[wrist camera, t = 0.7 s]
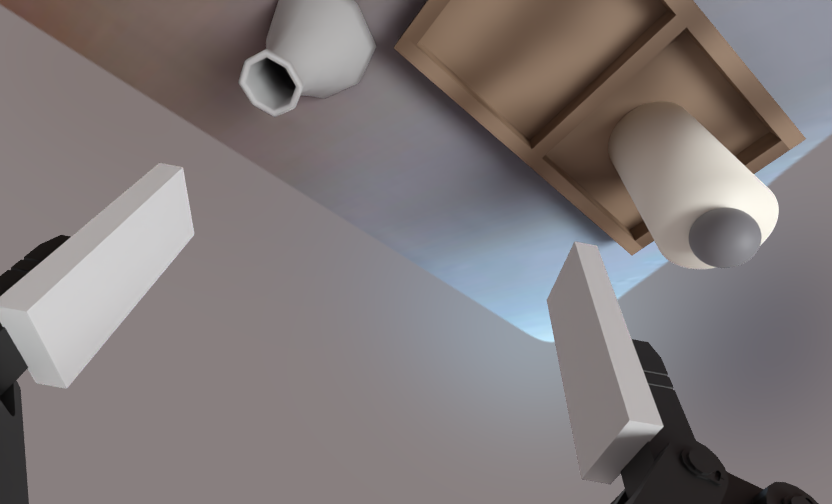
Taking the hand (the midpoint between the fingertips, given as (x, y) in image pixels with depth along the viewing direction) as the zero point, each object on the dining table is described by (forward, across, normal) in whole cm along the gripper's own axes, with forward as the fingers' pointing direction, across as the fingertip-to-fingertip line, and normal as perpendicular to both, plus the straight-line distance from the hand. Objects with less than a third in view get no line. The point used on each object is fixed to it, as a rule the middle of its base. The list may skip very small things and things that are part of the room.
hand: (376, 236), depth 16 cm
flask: (+21, -7, 0) cm, 22 cm away
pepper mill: (+19, +17, -2) cm, 25 cm away
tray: (+20, +12, +1) cm, 23 cm away
